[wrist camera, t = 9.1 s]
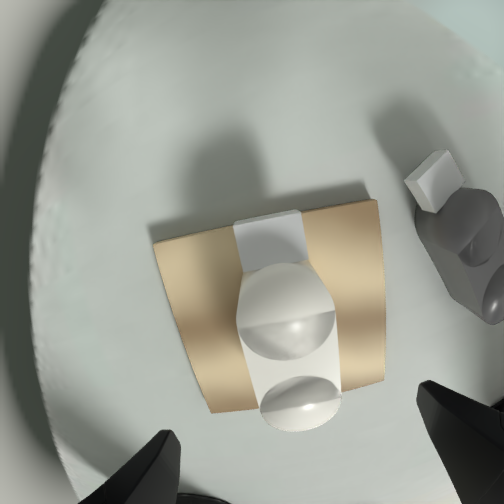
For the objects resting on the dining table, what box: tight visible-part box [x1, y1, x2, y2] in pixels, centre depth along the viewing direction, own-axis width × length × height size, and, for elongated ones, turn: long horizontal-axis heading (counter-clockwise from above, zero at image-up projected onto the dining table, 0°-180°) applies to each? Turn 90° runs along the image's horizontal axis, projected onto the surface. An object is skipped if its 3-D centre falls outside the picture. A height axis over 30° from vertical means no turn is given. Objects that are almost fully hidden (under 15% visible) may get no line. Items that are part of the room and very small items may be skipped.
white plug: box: [233, 209, 341, 432], centre depth 14 cm, size 11×4×4 cm, turn 12°
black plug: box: [404, 150, 504, 325], centre depth 13 cm, size 11×4×4 cm, turn 42°
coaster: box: [153, 199, 386, 413], centre depth 16 cm, size 12×12×1 cm
